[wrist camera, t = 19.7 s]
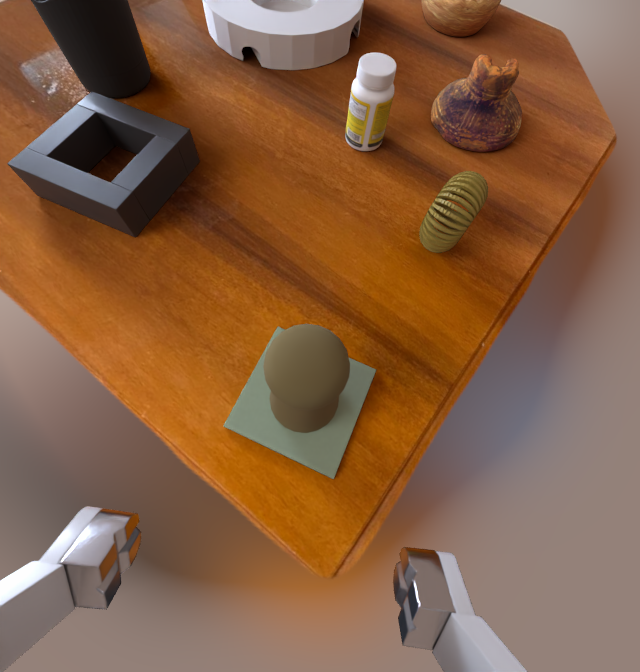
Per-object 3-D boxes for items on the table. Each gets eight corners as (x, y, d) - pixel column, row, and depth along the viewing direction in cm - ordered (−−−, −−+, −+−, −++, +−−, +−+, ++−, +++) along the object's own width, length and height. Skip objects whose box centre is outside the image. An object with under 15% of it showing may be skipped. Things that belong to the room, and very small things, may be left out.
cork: (349, 418, 28) (378, 389, 18) (282, 444, 27) (272, 429, 17) (324, 354, 30) (337, 296, 20) (260, 376, 29) (239, 326, 19)
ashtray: (323, -25, 56) (325, -60, 52) (385, 54, 49) (392, 20, 45) (189, -7, 51) (181, -44, 48) (234, 83, 44) (228, 48, 40)
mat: (333, 479, 26) (333, 479, 26) (224, 426, 27) (223, 426, 27) (375, 370, 30) (376, 369, 30) (277, 328, 31) (277, 326, 31)
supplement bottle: (381, 128, 42) (400, 52, 35) (382, 154, 41) (401, 80, 33) (345, 124, 42) (355, 47, 35) (343, 150, 41) (354, 75, 33)
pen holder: (151, 53, 45) (114, -53, 36) (158, 97, 42) (119, -8, 33) (79, 60, 44) (20, -49, 35) (80, 106, 41) (15, -1, 31)
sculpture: (436, 209, 38) (470, 146, 30) (467, 226, 37) (509, 166, 30) (403, 254, 35) (431, 197, 28) (435, 274, 34) (473, 220, 27)
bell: (414, 130, 43) (436, 67, 36) (449, 84, 47) (474, 19, 40) (498, 168, 41) (537, 109, 34) (526, 116, 45) (566, 55, 38)
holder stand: (135, 238, 34) (116, 209, 30) (37, 195, 35) (6, 163, 31) (200, 161, 38) (189, 128, 35) (111, 126, 40) (91, 91, 36)
